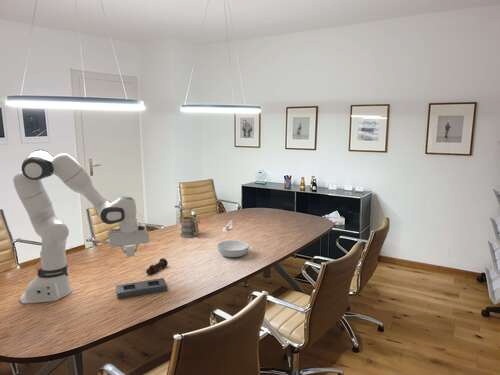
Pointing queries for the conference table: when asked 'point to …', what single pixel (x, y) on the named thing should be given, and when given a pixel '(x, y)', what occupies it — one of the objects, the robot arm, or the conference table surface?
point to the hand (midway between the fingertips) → (130, 252)
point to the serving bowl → (233, 248)
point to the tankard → (189, 227)
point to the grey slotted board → (141, 288)
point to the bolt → (157, 266)
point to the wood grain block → (129, 250)
